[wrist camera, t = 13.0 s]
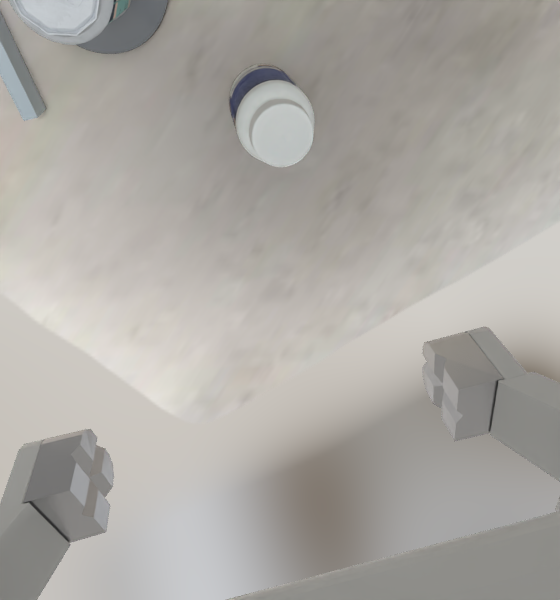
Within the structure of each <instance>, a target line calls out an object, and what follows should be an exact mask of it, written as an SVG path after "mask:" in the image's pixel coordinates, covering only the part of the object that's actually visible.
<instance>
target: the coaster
mask: <svg viewBox="0 0 560 600" xmlns="http://www.w3.org/2000/svg"><path fill="white" fill-rule="evenodd" d="M167 2H168V0H131V4H130V6H129V8H128V9H127V10H126V12H125V13H124V14H123V15H122V16H120V17H119V18H117V19H116V20H114V21H112V22H110V23H109V24H108V25H107V26H106V27H105V28H104V30H103V31H102V32H101V33H100V34H99V35H97V36H96V37H95V38H93V39H92V40H90V41H88V42H85V43H81V44H76V45H77V46H79V47H82V48H84V49H87V50H90V51H93V52H97V53H105V54H116V53H122V52H126V51H129V50H132V49H134V48H136V47H138V46H140V45H141V44H143V43H144V42H145V41H147V40H148V39H149V38H150V37H151V36H152V35H153V33H154V32H155V31H156V29H157V28H158V26H159V24H160V22H161V21H162V18H163V16H164V13H165V11H166V7H167Z"/></svg>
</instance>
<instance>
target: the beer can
mask: <svg viewBox="0 0 560 600" xmlns="http://www.w3.org/2000/svg"><path fill="white" fill-rule="evenodd" d="M9 2H10V4H11V6H12V8H13V10H14V11H15V12H16V13H17V15H18V16H19V17H20V18H21V20H22V21H23V22H24V23H25V24H26V25H27V26H28V27H29V28H31V29H32V30H33V31H35V32H36V33H37V34H39V35H40V36H42V37H45V38H47V39H49V40H51V41H53V42H57V43H61V44H71V45H76V44H81V43H85V42H88V41H90V40H92V39H93V38H95V37H96V36H97V35H99V34H100V33H101V32H102V31H103V30H104V28H105V27H106V26H107V25H108V24H109V23H110V22H112V21H114V20H116V19H117V18H119V17H120V16H122V15H123V14H124V13H125V12H126V10H127V9H128V8H129V6H130V4H131V0H9Z"/></svg>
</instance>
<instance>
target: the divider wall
mask: <svg viewBox="0 0 560 600" xmlns="http://www.w3.org/2000/svg"><path fill="white" fill-rule="evenodd" d="M0 75H1V77H2V79H3V81H4V83H5V85H6V87H7V89H8V91H9V93H10V95H11V97H12V99H13V101H14V103H15V105H16V107H17V108H18V110H19V112H20V114H21V116H22V118H23V120H24V121H25V120H29V119H34V118H38V117H39V116H40V115H41V114H42V113H43V112H44V110H45V109H46V107H45V105H44V103H43V101H42V98H41V96H40V94H39V92H38V90H37V88H36V86H35V84H34V82H33V79H32V77H31V75H30V73H29V71H28V69H27V67H26V65H25V63H24V60H23V58H22V56H21V54H20V52H19V50H18V48H17V46H16V43H15V41H14V39H13V37H12V35H11V33H10V31H9V29H8V27H7V24H6V22H5V20H4V18H3V16H2V14H1V12H0Z"/></svg>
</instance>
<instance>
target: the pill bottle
mask: <svg viewBox="0 0 560 600" xmlns="http://www.w3.org/2000/svg"><path fill="white" fill-rule="evenodd" d="M229 105H230V111H231V115H232V118H233V122H234V125H235V128H236V132H237V135H238V138H239V140H240V142H241V144H242V146H243V147H244V148H245V150H246V151H247V152H248V153H249V154H250V155H251V156H253V157H254V158H256V159H258V160H260V161H263V162H265V163H267V164H268V165H271V166H274V167H288V166H291V165H294V164H296V163H297V162H299V161H300V160H302V159H303V158H304V157H305V156H306V154H307V153H308V151H309V150H310V147H311V145H312V142H313V136H314V132H313V131H314V125H315V118H314V111H313V108H312V105H311V103H310V101H309V99H308V98H307V97H306V95H305V94H304V93H303V92H302V91H301V90H300V88H299V87H298V86H297V85H296V84H295V83H294V82H293V81H292V80H291V79H290V78H289V77H288V75H287V74H285V73H284V72H283V71H282V70H281V69H279V68H277V67H275V66H273V65H269V64H257V65H254V66H251V67H249V68H247V69H245V70H244V71H243V72H242V73H240V74H239V75H238V77H237V78H236V79H235V81H234V83H233V85H232V87H231V91H230V95H229Z"/></svg>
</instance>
